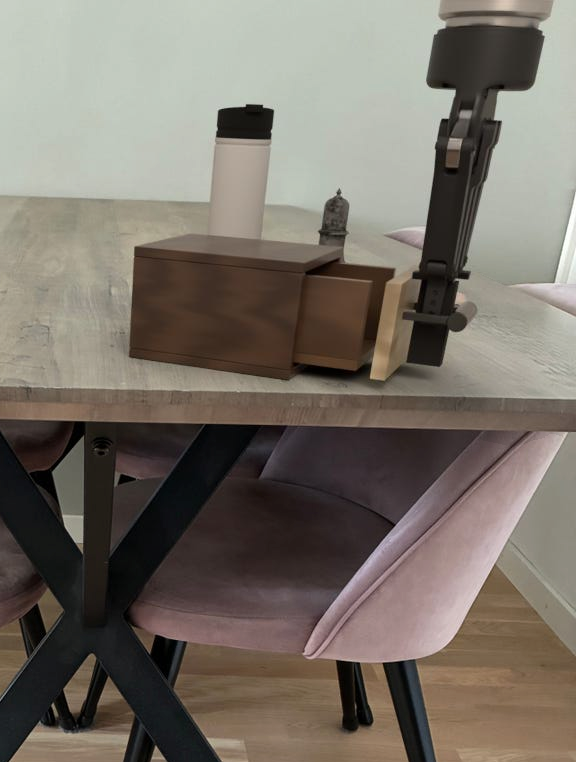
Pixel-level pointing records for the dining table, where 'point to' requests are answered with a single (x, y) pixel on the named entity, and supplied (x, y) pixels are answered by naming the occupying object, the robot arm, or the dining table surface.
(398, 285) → the drawer
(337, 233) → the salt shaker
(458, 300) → the beige seashell
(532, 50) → the robot arm
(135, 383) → the dining table surface
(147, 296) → the cabinet
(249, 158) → the travel mug
